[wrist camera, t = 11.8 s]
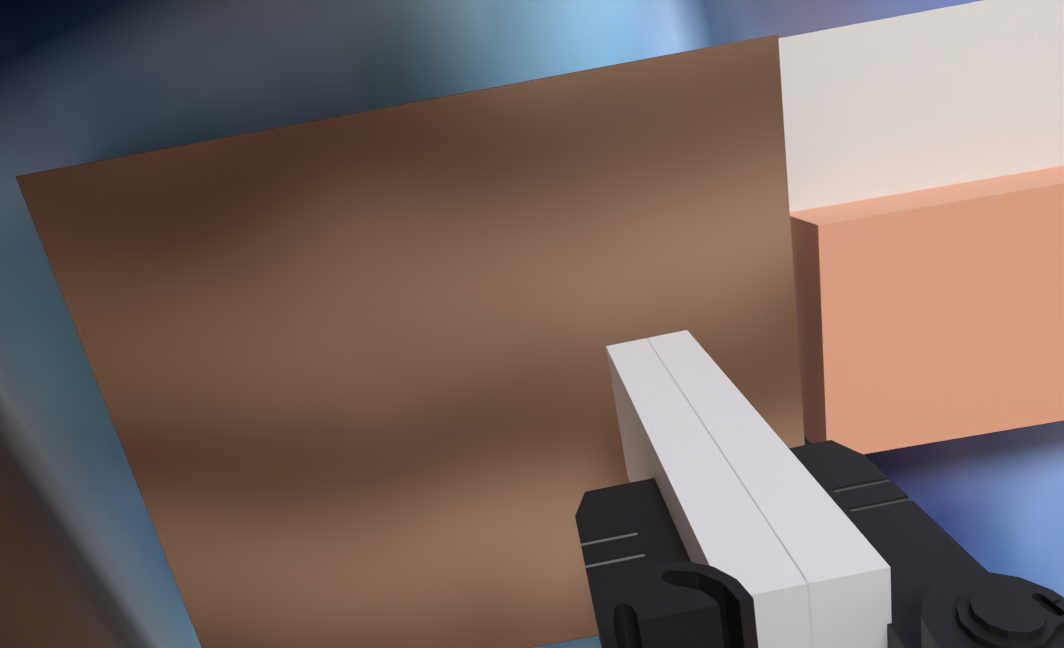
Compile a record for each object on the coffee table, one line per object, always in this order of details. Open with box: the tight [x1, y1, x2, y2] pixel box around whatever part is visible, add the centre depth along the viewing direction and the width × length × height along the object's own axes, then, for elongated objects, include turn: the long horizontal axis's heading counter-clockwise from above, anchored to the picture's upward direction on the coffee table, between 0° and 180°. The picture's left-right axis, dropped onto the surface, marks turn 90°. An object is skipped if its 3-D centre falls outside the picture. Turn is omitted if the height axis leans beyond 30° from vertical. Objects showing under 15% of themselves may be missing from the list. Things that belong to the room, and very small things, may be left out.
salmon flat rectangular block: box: [790, 166, 1064, 454], centre depth 17 cm, size 9×6×2 cm, turn 99°
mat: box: [778, 0, 1064, 212], centre depth 18 cm, size 10×13×1 cm
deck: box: [16, 34, 805, 648], centre depth 17 cm, size 14×16×2 cm
